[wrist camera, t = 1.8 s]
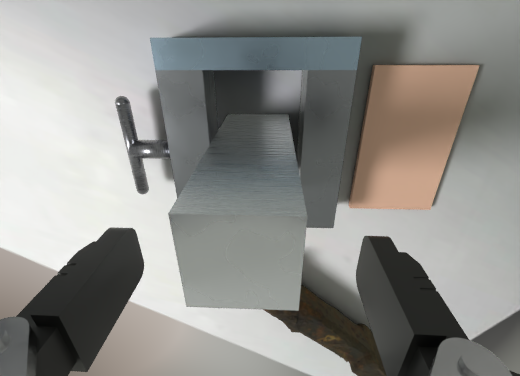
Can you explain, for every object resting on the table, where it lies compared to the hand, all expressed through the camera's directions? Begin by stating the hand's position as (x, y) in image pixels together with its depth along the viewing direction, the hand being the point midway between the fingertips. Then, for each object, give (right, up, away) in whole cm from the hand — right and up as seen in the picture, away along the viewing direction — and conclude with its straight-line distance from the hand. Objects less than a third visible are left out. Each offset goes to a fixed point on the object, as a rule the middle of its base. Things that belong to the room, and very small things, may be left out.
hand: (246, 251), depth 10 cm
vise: (-1, +6, +9) cm, 11 cm away
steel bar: (0, +5, +10) cm, 11 cm away
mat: (+10, +5, +9) cm, 15 cm away
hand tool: (+7, -9, +18) cm, 21 cm away
